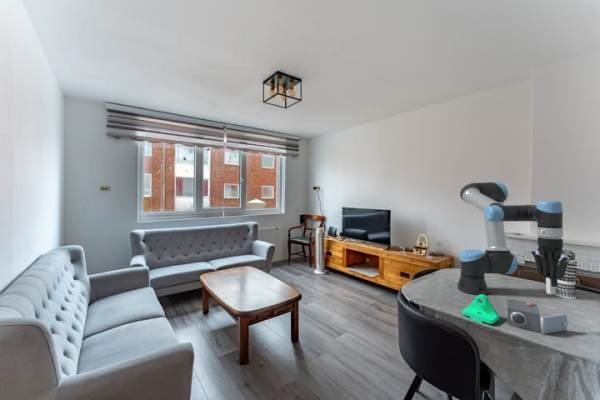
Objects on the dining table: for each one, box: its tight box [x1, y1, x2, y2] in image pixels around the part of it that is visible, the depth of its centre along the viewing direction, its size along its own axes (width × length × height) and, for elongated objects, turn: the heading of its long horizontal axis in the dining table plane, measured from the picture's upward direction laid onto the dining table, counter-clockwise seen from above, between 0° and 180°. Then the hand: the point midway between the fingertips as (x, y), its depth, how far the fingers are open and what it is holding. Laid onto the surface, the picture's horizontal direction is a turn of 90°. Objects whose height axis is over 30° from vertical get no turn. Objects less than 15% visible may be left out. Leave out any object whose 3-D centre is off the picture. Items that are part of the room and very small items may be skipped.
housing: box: [507, 298, 541, 334], centre depth 108 cm, size 10×13×8 cm
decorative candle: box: [554, 249, 578, 300], centre depth 135 cm, size 9×9×25 cm
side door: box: [540, 313, 569, 335], centre depth 100 cm, size 1×12×7 cm, turn 99°
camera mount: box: [461, 294, 500, 325], centre depth 113 cm, size 12×8×10 cm, turn 32°
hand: (550, 293), depth 104 cm, fingers closed
